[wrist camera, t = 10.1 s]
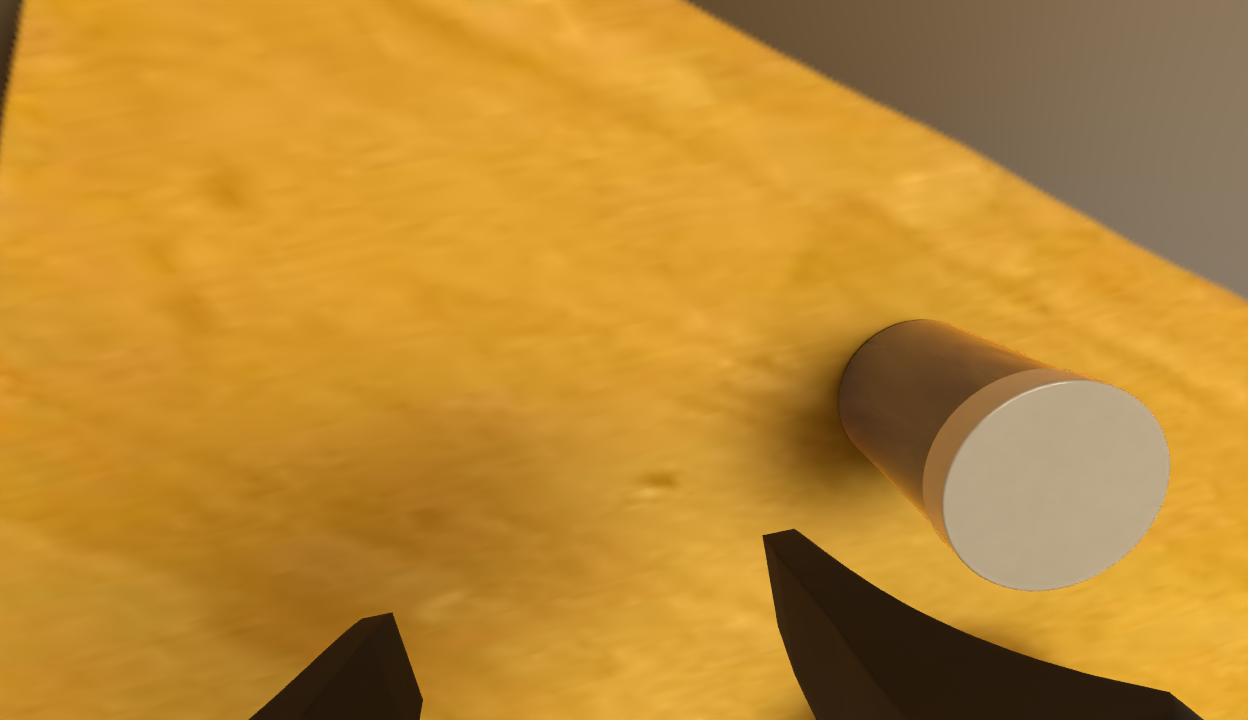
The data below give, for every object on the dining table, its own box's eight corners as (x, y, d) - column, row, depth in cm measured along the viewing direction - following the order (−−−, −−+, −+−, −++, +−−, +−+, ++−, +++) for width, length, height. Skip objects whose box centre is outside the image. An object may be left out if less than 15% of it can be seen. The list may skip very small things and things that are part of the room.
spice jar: (949, 485, 23) (1100, 616, 16) (809, 442, 22) (904, 558, 15) (1019, 344, 21) (1215, 420, 15) (873, 294, 21) (1007, 349, 14)
